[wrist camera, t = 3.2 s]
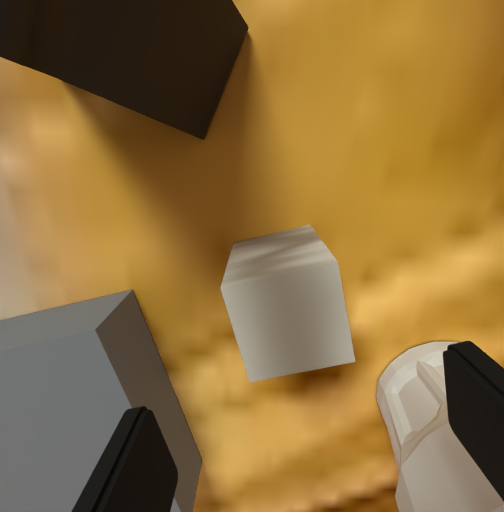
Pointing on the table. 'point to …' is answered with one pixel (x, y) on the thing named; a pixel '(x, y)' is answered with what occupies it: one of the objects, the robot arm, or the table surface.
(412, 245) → the table surface
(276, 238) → the cream block
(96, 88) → the phone stand
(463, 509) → the cup
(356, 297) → the table surface
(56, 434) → the slate block
